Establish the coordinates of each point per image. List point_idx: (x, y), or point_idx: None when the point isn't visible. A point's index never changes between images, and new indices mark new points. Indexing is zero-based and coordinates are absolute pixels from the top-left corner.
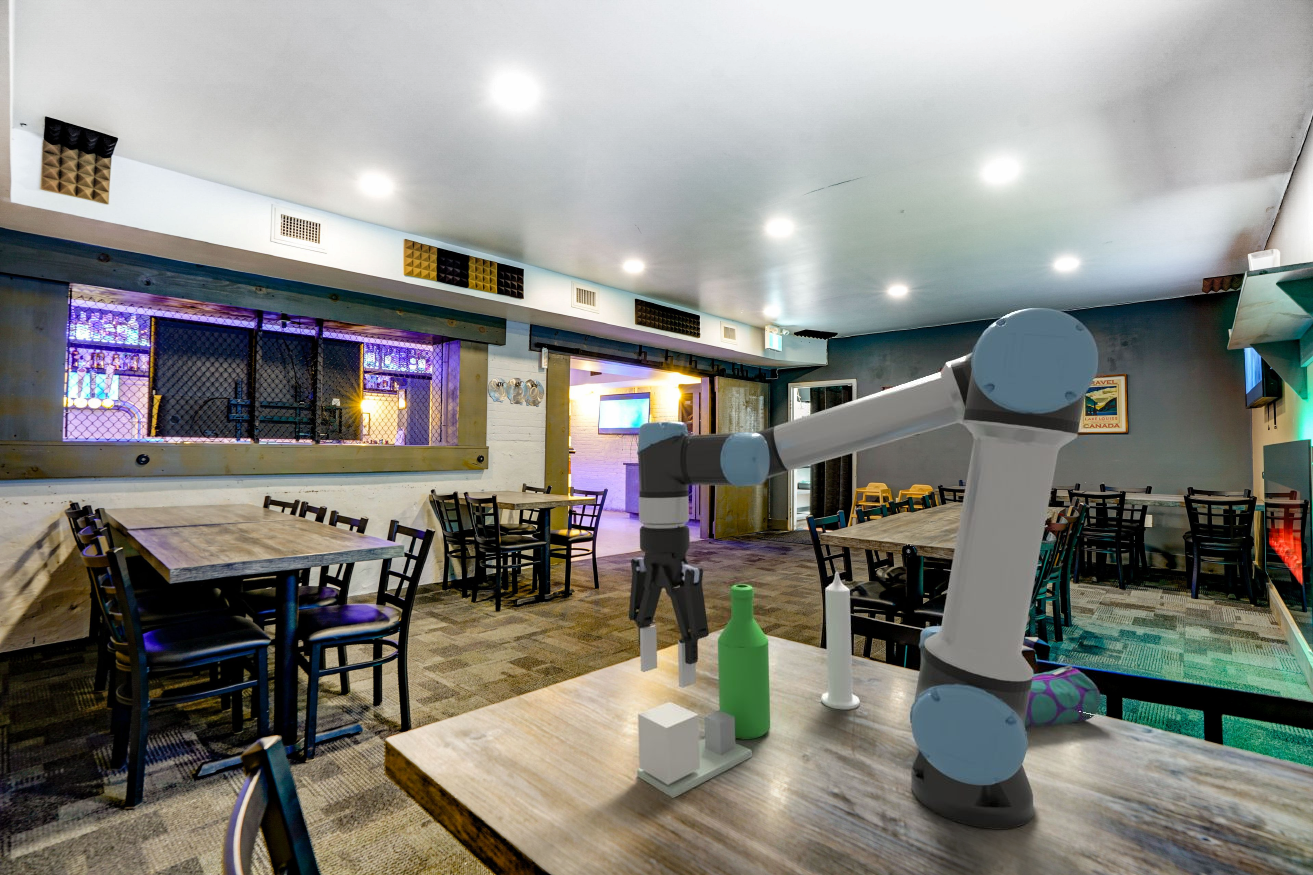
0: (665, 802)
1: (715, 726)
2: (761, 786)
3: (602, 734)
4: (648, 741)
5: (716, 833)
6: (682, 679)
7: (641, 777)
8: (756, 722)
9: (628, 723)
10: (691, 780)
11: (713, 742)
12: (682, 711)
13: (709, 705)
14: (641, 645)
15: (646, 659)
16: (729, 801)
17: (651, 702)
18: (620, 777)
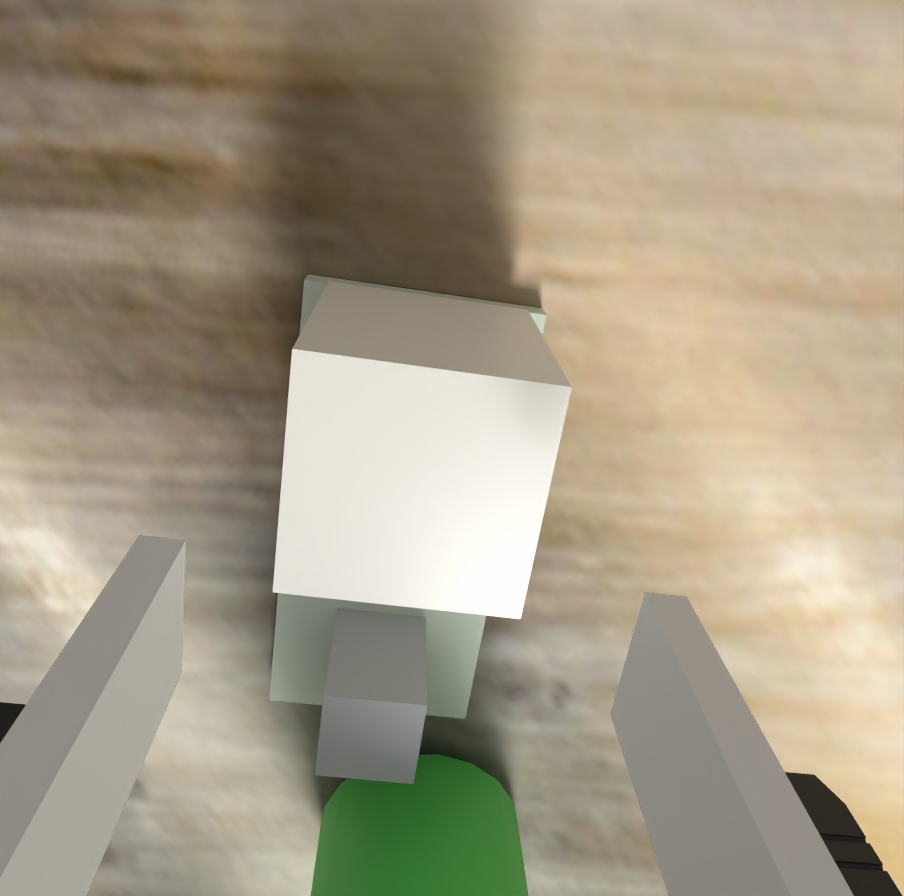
0: (310, 228)
1: (356, 681)
2: (109, 548)
3: (899, 471)
4: (466, 336)
5: (5, 188)
6: (117, 574)
7: (513, 304)
8: (327, 835)
9: (852, 603)
10: None
11: (375, 634)
12: (372, 568)
13: (646, 876)
14: (760, 763)
15: (667, 685)
16: (125, 396)
17: (871, 779)
18: (596, 253)
